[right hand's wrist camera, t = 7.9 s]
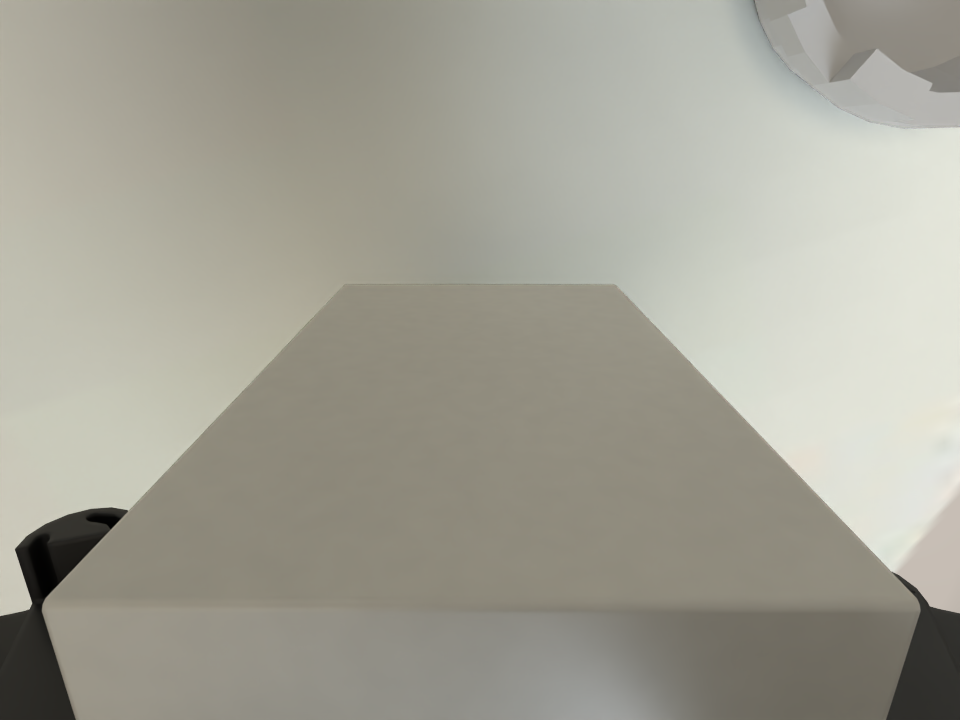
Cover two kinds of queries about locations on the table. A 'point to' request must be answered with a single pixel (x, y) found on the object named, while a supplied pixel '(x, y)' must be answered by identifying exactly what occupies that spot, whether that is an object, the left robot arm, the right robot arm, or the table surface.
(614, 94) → the table surface
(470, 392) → the box
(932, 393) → the table surface
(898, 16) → the flag stand
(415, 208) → the table surface
